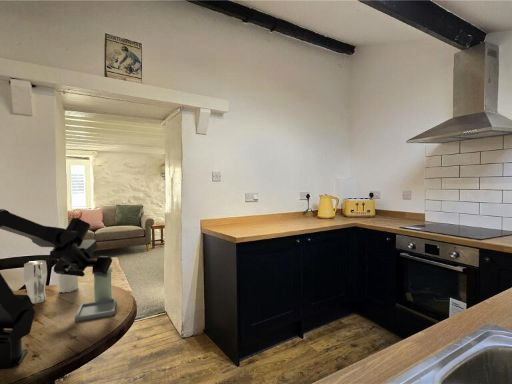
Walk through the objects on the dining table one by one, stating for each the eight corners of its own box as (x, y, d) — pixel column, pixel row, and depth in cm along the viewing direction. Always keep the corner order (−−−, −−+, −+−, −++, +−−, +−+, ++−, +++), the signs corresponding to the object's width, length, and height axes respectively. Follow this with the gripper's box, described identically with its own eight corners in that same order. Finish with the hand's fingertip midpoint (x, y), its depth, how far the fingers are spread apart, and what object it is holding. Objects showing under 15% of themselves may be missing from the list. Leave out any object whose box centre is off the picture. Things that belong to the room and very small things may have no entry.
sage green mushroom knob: (112, 301, 105) (111, 270, 104) (91, 305, 102) (91, 273, 102) (113, 295, 111) (113, 265, 111) (94, 298, 108) (93, 268, 108)
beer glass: (35, 305, 102) (33, 265, 102) (19, 304, 103) (18, 264, 103) (52, 298, 109) (51, 260, 108) (37, 296, 110) (36, 259, 110)
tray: (114, 315, 94) (114, 310, 94) (75, 322, 89) (74, 317, 89) (116, 302, 104) (116, 298, 104) (81, 307, 100) (81, 303, 100)
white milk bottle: (80, 286, 122) (78, 229, 121) (76, 291, 115) (74, 232, 114) (61, 288, 119) (59, 230, 118) (56, 294, 112) (54, 233, 112)
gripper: (108, 233, 95) (127, 256, 107) (58, 233, 97) (82, 255, 109) (93, 263, 88) (115, 284, 99) (40, 261, 90) (67, 282, 101)
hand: (95, 275), depth 102 cm, fingers open, 9 cm apart
